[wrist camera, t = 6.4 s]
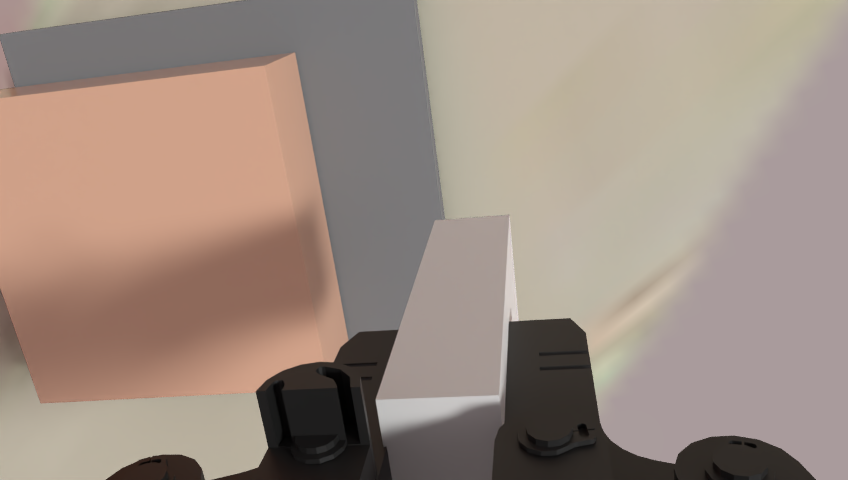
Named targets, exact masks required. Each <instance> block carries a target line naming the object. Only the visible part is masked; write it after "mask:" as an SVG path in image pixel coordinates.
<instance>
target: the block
mask: <svg viewBox="0 0 848 480" xmlns="http://www.w3.org/2000/svg"><path fill="white" fill-rule="evenodd" d="M0 289H1V292H2V295H3V298H4V300H5V303H6V306H7V309H8V312H9V315H10V317H11V320H12V323H13V326H14V329H15V332H16V335H17V337H18V340H19V343H20V346H21V349H22V352H23V354H24V357H25V360H26V363H27V366H28V369H29V371H30V374H31V377H32V380H33V383H34V386H35V389H36V391H37V394H38V397H39V400H40V403H56V402H76V401H96V400H115V399H135V398H155V397H174V396H194V395H214V394H233V393H253V392H256V390H257V389H258V388H259V387H260V386H261V385H262V384H263V383H264V382H265V381H266V380H267V379H269V378H271V377H272V376H274V375H276V374H278V373H279V372H281V371H283V370H286V369H289V368H292V367H295V366H298V365H301V364H308V363H315V362H334V360H335V358H336V356H337V354H338V352H339V349H340V347H341V346H343V345H344V344H345V343H346V342H347V341H349V340H348V335H347V330H346V324H345V319H344V313H343V308H342V303H341V297H340V292H339V286H338V281H337V276H336V270H335V265H334V259H333V254H332V249H331V243H330V238H329V232H328V227H327V222H326V216H325V211H324V206H323V200H322V195H321V189H320V184H319V179H318V173H317V168H316V162H315V157H314V152H313V146H312V141H311V135H310V130H309V125H308V119H307V114H306V109H305V103H304V98H303V92H302V87H301V82H300V76H299V71H298V65H297V60H296V55H295V52H294V53H286V54H278V55H270V56H262V57H254V58H246V59H238V60H230V61H222V62H214V63H206V64H198V65H190V66H182V67H174V68H166V69H158V70H150V71H142V72H134V73H126V74H118V75H110V76H102V77H94V78H86V79H78V80H70V81H62V82H54V83H46V84H38V85H30V86H22V87H14V88H7V89H0Z"/></svg>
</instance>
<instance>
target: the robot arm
mask: <svg viewBox="0 0 848 480" xmlns="http://www.w3.org/2000/svg"><path fill="white" fill-rule="evenodd" d="M256 395H257V399H258V404H259V408H260V412H261V417H262V421H263V426H264V430H265V434H266V439H267V443H268V447H269V448H268V450H267V452H266V454H265V456H264V458H263V460H262V462H261V463H260V465H259V467H258V468H255V469H252V470H249V471H246V472H242V473H239V474H234V475H230V476H226V477H222V478H218V479H213V480H816V479H815V478H814V477H813V476H812V475H811V474H810V473H809V472H808V471H807V470H806V469H805V468H804V467H803V466H802V465H801V464H800V463H799V462H798V461H797V460H796V459H794V458H793V457H791V456H790V455H789V454H788V453H786V452H785V451H783V450H782V449H780V448H778V447H775V446H773V445H770V444H768V443H765V442H763V441H760V440H757V439H751V438H745V437H739V436H720V437H709V438H706V439H703V440H700V441H697V442H694V443H691V444H690V445H689V446H687V447H686V448H685V449H684V450H683V451H681V452H680V453H679V454H678V457H677V460H676V463H675V464H672V463H666V462H661V461H656V460H651V459H648V458H644V457H640V456H637V455H635V454H632V453H630V452H628V451H626V450H623V449H622V448H620V447H619V446H617V445H616V444H615V443H613V442H612V441H611V440H610V439H609V438H608V437H607V436H606V434H605V433H604V431H603V429H602V427H601V424H600V420H599V413H598V407H597V401H596V395H595V388H594V382H593V376H592V370H591V363H590V357H589V352H588V345H587V338H586V333H585V332H584V331H583V330H582V329H581V328H580V327H579V326H578V325H577V324H576V323H575V322H574V321H572V320H571V319H570V318H567V319H548V320H530V321H519V319H518V308H517V296H516V285H515V274H514V262H513V251H512V239H511V228H510V217H509V215H499V216H486V217H473V218H459V219H446V220H435V222H434V225H433V228H432V231H431V234H430V237H429V240H428V243H427V246H426V249H425V252H424V255H423V258H422V261H421V264H420V267H419V270H418V273H417V276H416V279H415V282H414V285H413V288H412V291H411V294H410V297H409V300H408V303H407V306H406V309H405V312H404V315H403V318H402V321H401V324H400V327H399V330H383V331H364V332H358V333H357V334H356V335H355V336H353V337H352V338H351V339H350V340H349V341H347V342H346V343H345V344H344V345H343V346H341V347H340V349H339V352H338V354H337V356H336V358H335V360H334V362H315V363H308V364H301V365H298V366H295V367H292V368H289V369H286V370H283V371H281V372H279V373H278V374H276V375H274V376H272V377H271V378H269V379H267V380H266V381H265V382H264V383H263V384H262V385H261V386H260V387H259V388H258V389H257V390H256ZM106 480H205V479H204V475H203V471H202V468H201V467H200V466H199V464H198V463H197V462H196V460H195V459H192V458H189V457H186V456H183V455H159V456H153V457H151V458H150V457H148V458H145V459H141V460H139V461H137V462H135V463H133V464H131V465H128V466H126V467H124V468H122V469H120V470H119V471H117V472H116V473H115V474H113V475H112V476H110V477H109V478H107V479H106Z"/></svg>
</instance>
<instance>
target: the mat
mask: <svg viewBox="0 0 848 480" xmlns="http://www.w3.org/2000/svg"><path fill="white" fill-rule="evenodd" d="M0 41H1V44H2V47H3V51H4V54H5V57H6V60H7V63H8V67H9V70H10V73H11V76H12V79H13V82H14V86H15V87H22V86H30V85H38V84H46V83H54V82H62V81H70V80H78V79H86V78H94V77H102V76H110V75H118V74H126V73H134V72H142V71H150V70H158V69H166V68H174V67H182V66H190V65H198V64H206V63H214V62H222V61H230V60H238V59H246V58H254V57H262V56H270V55H278V54H286V53H294V52H295V55H296V60H297V65H298V71H299V76H300V82H301V87H302V92H303V98H304V103H305V109H306V114H307V119H308V125H309V130H310V135H311V141H312V146H313V152H314V157H315V162H316V168H317V173H318V179H319V184H320V189H321V195H322V200H323V206H324V211H325V216H326V222H327V227H328V232H329V238H330V243H331V249H332V254H333V259H334V265H335V270H336V276H337V281H338V286H339V292H340V297H341V303H342V308H343V313H344V319H345V324H346V330H347V335H348V340H350V339H351V338H352V337H353V336H355V335H356V334H357V333H358V332H364V331H383V330H399V327H400V324H401V321H402V318H403V315H404V312H405V309H406V306H407V303H408V300H409V297H410V294H411V291H412V288H413V285H414V282H415V279H416V276H417V273H418V270H419V267H420V264H421V261H422V258H423V255H424V252H425V249H426V246H427V243H428V240H429V237H430V234H431V231H432V228H433V225H434V222H435V220H445V216H444V208H443V201H442V193H441V185H440V177H439V170H438V162H437V154H436V146H435V139H434V131H433V123H432V115H431V108H430V100H429V92H428V84H427V77H426V69H425V61H424V54H423V46H422V38H421V30H420V23H419V15H418V7H417V0H243V1H236V2H229V3H222V4H214V5H207V6H200V7H193V8H185V9H178V10H171V11H164V12H157V13H149V14H142V15H135V16H128V17H120V18H113V19H106V20H99V21H92V22H84V23H77V24H70V25H63V26H55V27H48V28H41V29H34V30H26V31H19V32H12V33H6V34H0Z"/></svg>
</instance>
